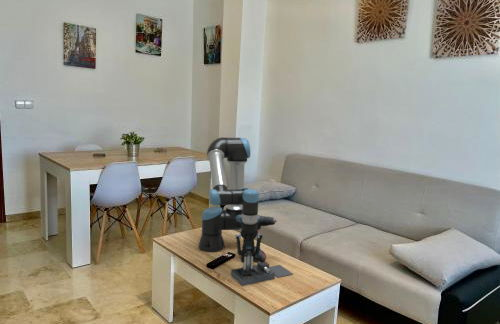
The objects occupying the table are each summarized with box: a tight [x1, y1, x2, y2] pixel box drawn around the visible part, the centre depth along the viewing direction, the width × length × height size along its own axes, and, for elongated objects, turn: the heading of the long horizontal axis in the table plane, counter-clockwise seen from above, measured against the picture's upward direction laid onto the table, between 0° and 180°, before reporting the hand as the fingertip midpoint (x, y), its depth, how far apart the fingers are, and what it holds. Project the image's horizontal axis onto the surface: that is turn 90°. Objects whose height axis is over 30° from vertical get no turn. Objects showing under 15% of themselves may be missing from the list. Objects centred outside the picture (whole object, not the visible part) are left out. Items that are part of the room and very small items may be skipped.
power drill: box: [235, 214, 278, 263], centre depth 210 cm, size 9×23×25 cm, turn 78°
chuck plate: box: [230, 261, 276, 287], centre depth 189 cm, size 12×18×6 cm, turn 119°
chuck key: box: [244, 248, 252, 274], centre depth 187 cm, size 4×6×12 cm, turn 165°
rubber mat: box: [269, 264, 294, 279], centre depth 197 cm, size 12×9×1 cm
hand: (247, 268), depth 187 cm, fingers closed on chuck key, 3 cm apart
